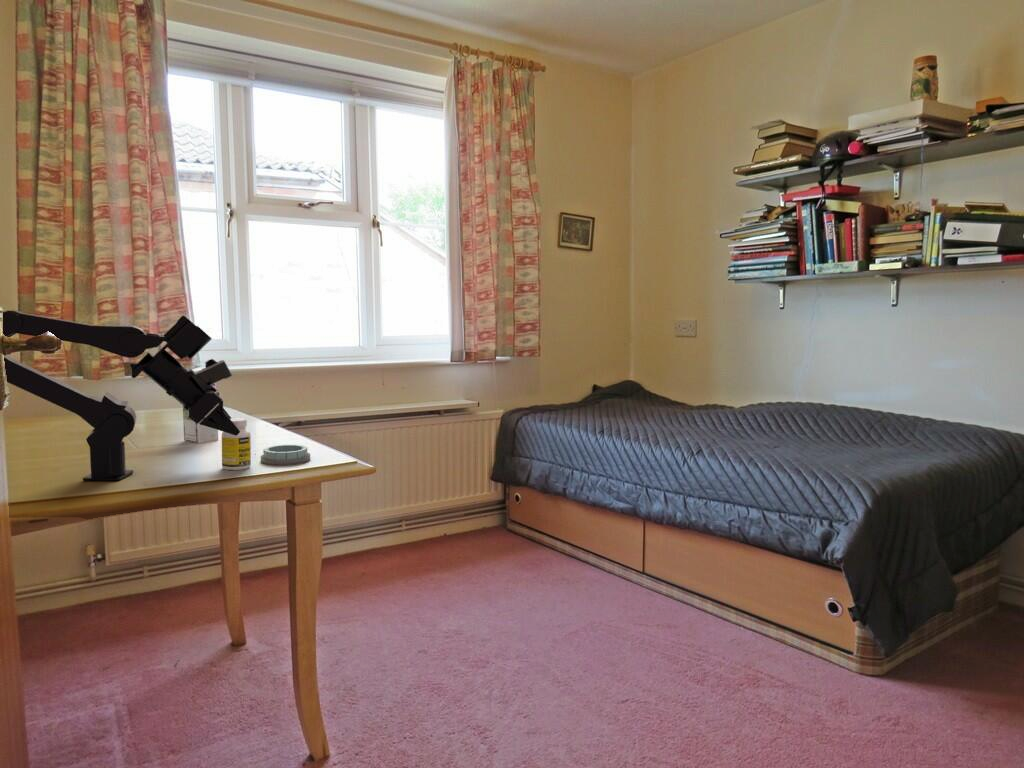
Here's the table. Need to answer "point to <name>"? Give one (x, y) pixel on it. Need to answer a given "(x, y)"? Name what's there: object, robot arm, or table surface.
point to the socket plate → (285, 455)
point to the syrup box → (197, 429)
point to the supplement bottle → (236, 447)
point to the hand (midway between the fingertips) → (236, 429)
